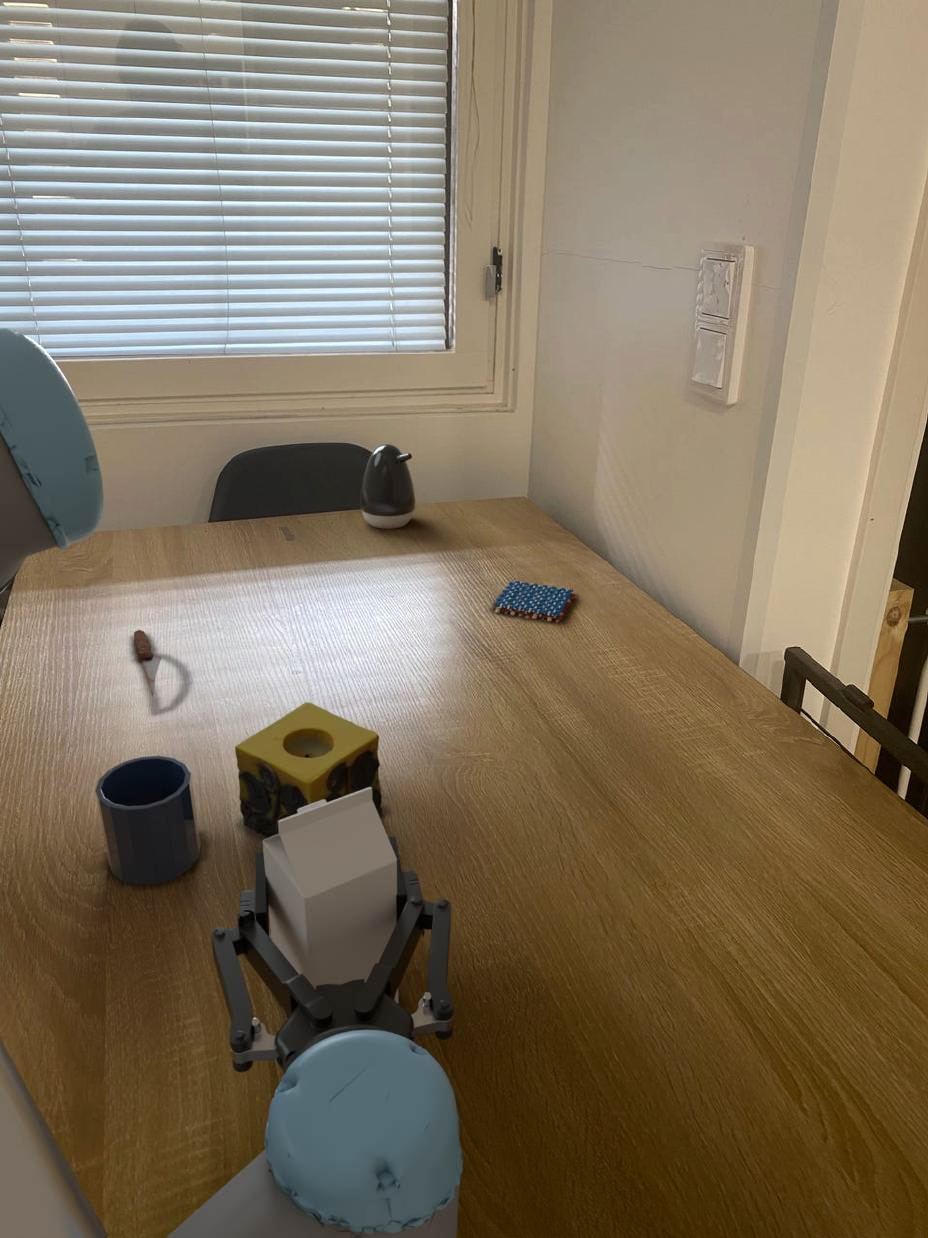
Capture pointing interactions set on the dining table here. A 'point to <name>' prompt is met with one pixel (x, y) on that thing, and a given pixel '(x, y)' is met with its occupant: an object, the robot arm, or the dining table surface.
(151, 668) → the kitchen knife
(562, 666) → the dining table surface
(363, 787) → the candle
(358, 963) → the milk carton
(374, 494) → the pump dispenser
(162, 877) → the blue cup
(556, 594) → the woven mat
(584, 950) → the dining table surface
